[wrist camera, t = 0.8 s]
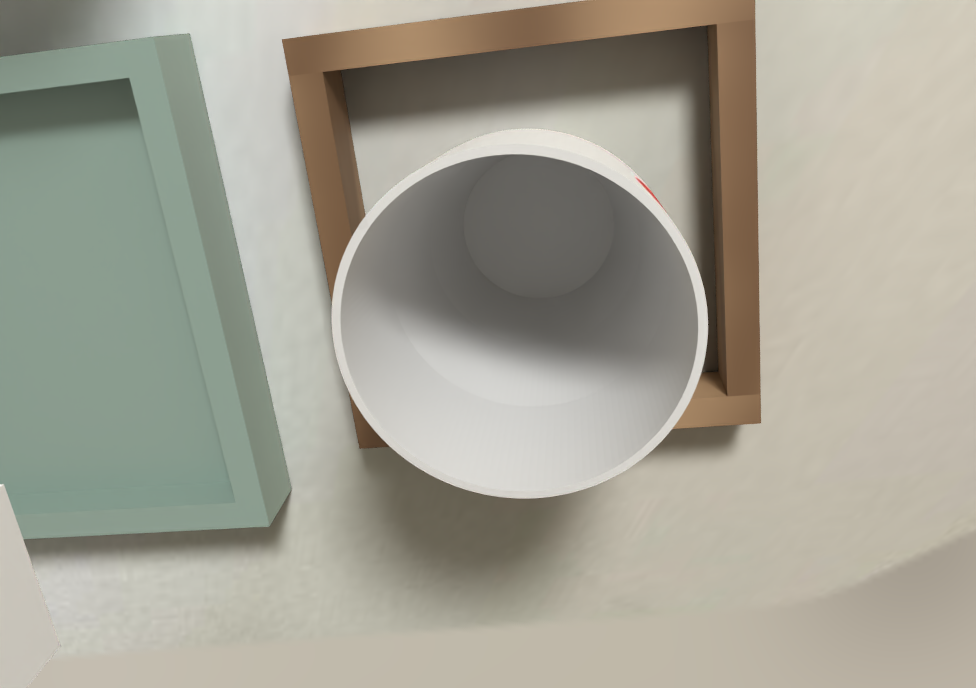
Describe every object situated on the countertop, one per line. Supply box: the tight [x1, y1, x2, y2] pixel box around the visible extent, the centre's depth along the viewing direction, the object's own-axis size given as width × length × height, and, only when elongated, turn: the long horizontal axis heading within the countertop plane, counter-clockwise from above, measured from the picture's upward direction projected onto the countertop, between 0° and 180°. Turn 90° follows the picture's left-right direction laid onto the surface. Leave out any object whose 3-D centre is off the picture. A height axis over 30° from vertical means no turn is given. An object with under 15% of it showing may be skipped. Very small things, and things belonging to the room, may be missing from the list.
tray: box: [0, 34, 291, 539], centre depth 30 cm, size 16×16×2 cm
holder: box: [282, 0, 761, 449], centre depth 28 cm, size 13×13×2 cm
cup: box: [331, 129, 708, 498], centre depth 24 cm, size 8×8×10 cm
